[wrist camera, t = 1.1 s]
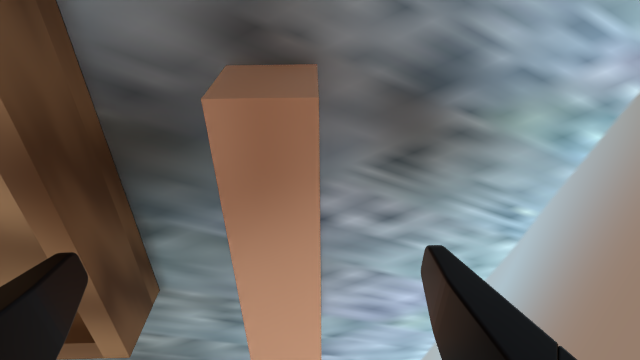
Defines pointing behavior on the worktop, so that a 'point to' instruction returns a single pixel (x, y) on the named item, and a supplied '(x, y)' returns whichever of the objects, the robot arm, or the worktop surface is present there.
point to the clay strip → (271, 201)
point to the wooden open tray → (65, 184)
